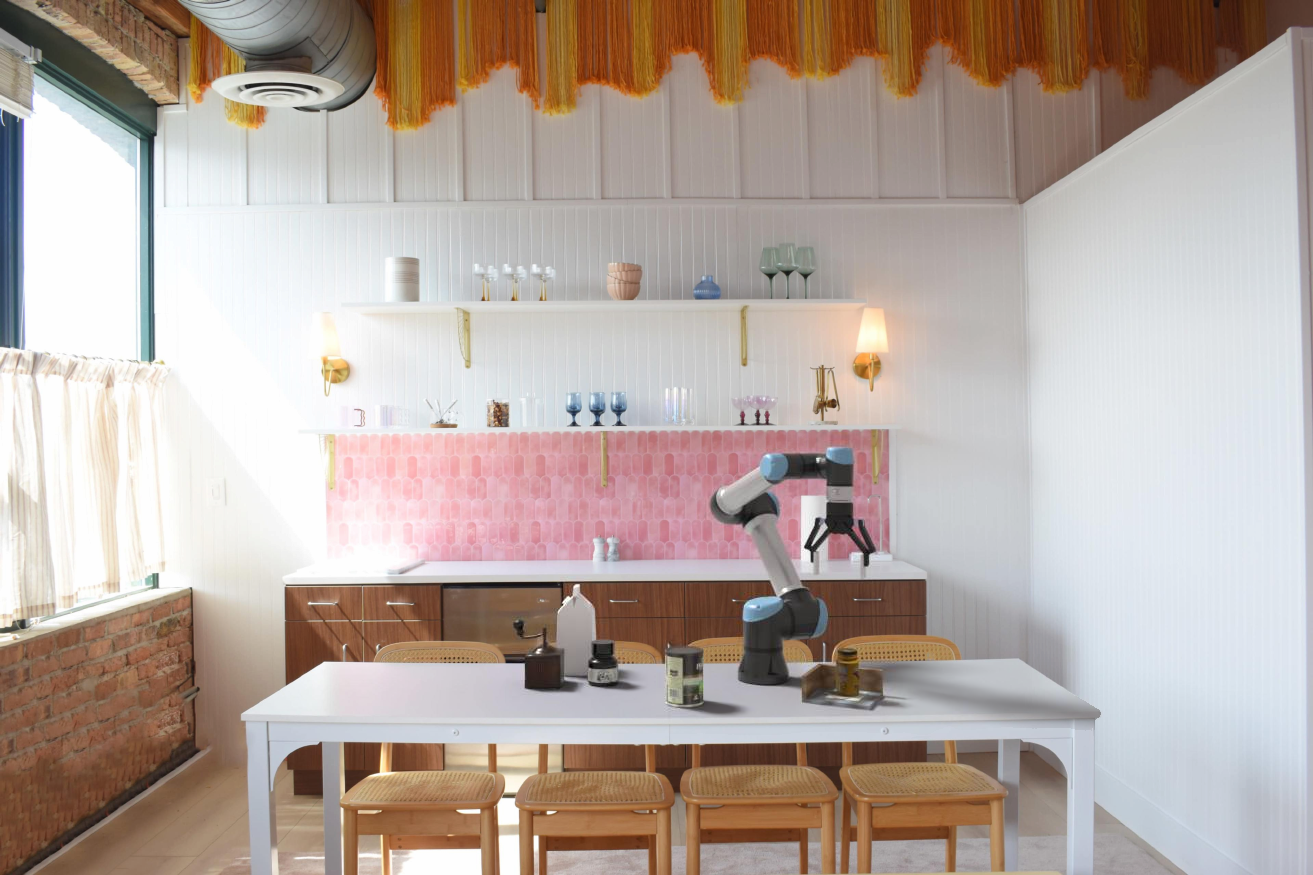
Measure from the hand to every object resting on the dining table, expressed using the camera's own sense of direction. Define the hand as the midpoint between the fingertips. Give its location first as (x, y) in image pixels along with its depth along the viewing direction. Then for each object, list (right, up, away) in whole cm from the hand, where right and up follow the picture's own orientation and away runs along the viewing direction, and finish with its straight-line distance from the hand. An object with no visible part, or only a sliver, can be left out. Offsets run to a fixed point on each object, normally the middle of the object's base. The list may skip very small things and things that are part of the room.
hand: (839, 576), depth 260 cm
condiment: (-1, -30, -12) cm, 33 cm away
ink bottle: (-67, -32, +6) cm, 75 cm away
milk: (-76, -32, +22) cm, 86 cm away
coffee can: (-44, -32, -15) cm, 57 cm away
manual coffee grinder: (-86, -32, +6) cm, 92 cm away
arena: (-1, -31, -12) cm, 33 cm away
